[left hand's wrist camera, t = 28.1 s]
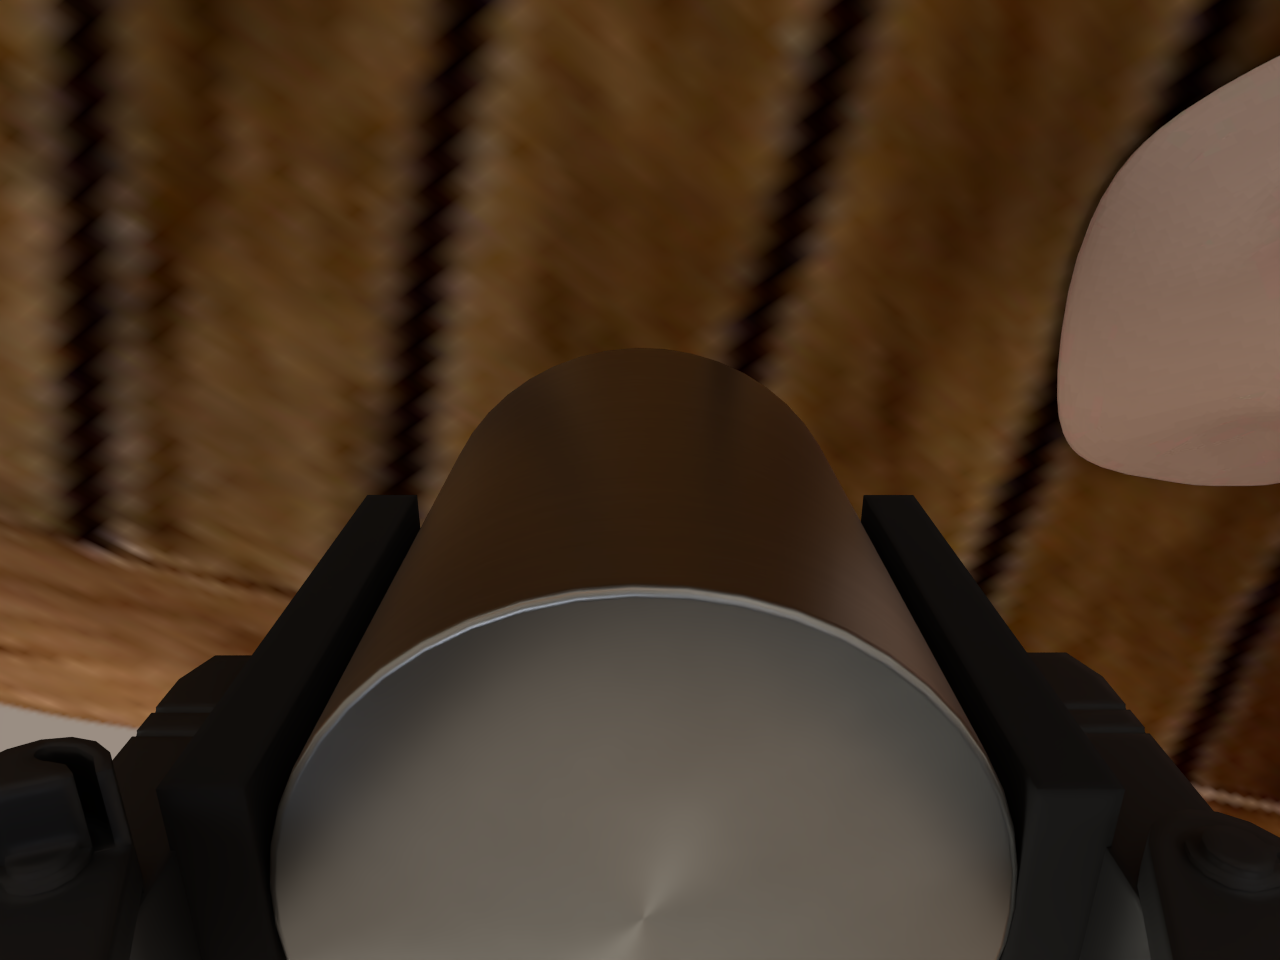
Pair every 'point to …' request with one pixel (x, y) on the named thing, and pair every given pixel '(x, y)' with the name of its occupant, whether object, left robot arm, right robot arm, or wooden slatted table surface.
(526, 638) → the can
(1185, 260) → the anatomical model
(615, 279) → the wooden slatted table surface
